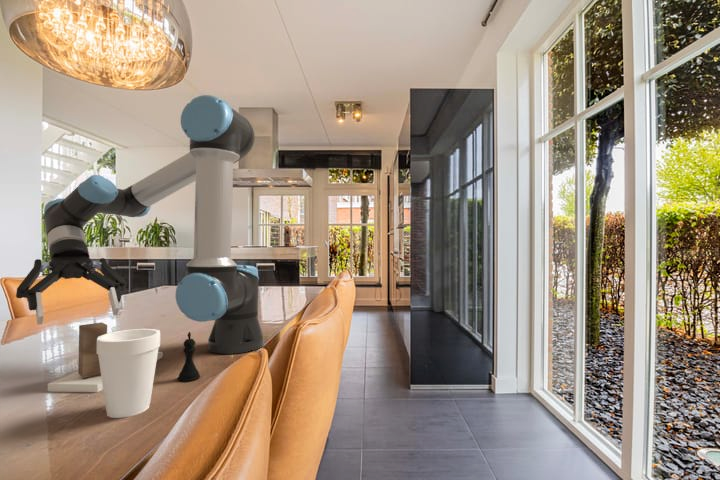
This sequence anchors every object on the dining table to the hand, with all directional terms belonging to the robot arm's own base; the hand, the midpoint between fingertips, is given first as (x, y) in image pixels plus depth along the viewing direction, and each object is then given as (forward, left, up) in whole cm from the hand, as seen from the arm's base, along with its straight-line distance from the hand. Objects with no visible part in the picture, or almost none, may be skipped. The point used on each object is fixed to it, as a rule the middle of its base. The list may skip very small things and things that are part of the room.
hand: (80, 316), depth 81 cm
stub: (-6, +5, -11) cm, 14 cm away
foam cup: (-22, +17, -13) cm, 31 cm away
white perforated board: (-6, -1, -13) cm, 14 cm away
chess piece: (-25, +2, -13) cm, 29 cm away
